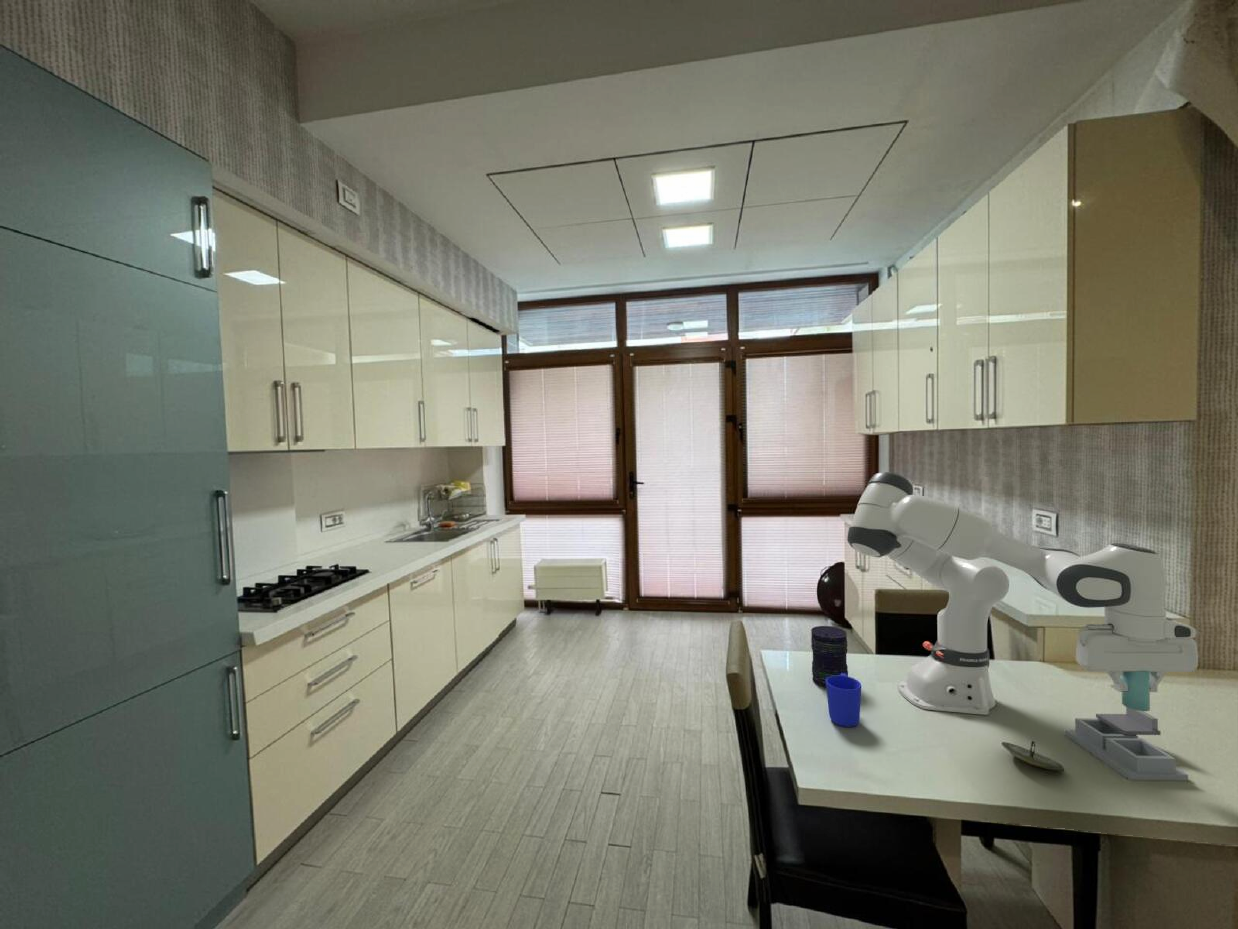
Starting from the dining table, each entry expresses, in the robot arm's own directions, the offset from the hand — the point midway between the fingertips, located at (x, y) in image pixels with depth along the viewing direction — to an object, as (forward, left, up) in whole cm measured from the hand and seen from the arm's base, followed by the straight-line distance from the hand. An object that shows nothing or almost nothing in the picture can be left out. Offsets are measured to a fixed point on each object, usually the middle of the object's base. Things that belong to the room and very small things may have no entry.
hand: (1135, 691), depth 103 cm
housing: (+2, +6, -17) cm, 18 cm away
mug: (-51, +21, -17) cm, 58 cm away
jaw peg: (0, 0, -3) cm, 3 cm away
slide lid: (+7, +10, -13) cm, 17 cm away
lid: (-19, +2, -17) cm, 26 cm away
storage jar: (-48, +41, -17) cm, 65 cm away
